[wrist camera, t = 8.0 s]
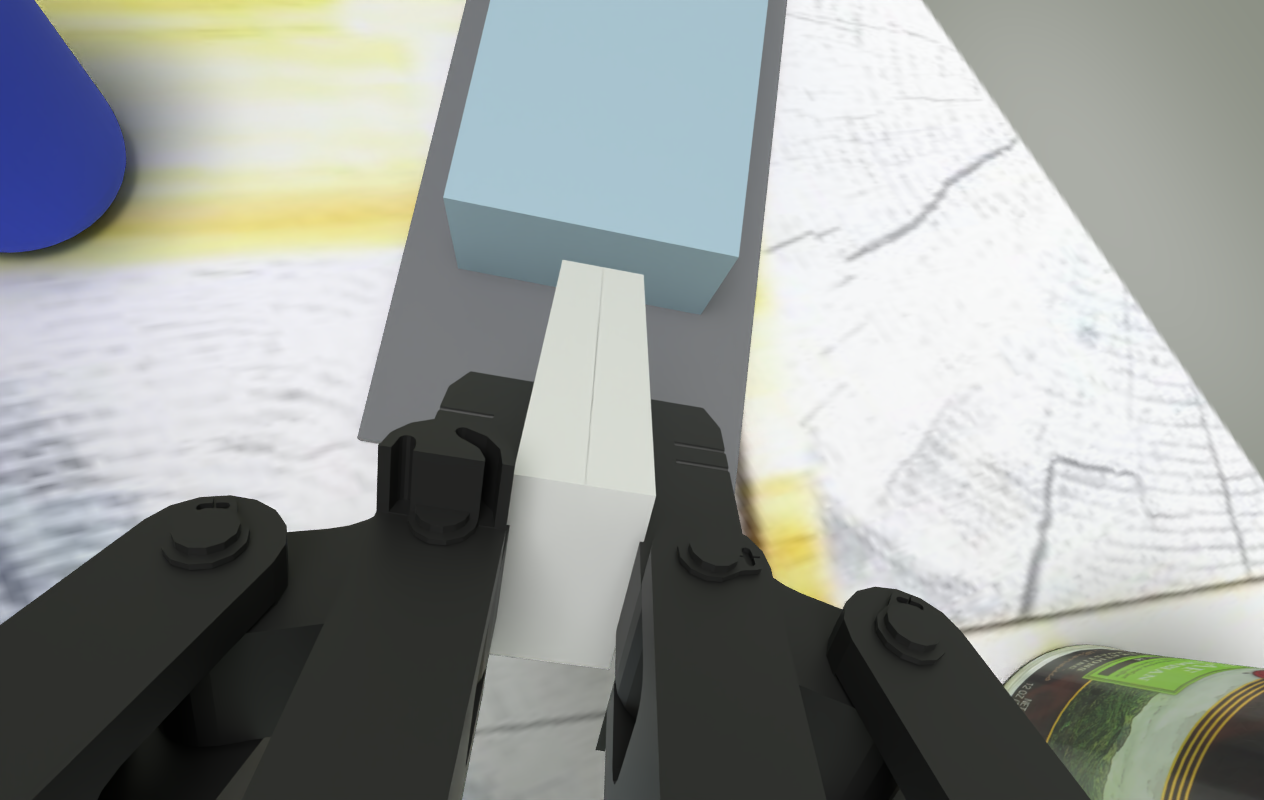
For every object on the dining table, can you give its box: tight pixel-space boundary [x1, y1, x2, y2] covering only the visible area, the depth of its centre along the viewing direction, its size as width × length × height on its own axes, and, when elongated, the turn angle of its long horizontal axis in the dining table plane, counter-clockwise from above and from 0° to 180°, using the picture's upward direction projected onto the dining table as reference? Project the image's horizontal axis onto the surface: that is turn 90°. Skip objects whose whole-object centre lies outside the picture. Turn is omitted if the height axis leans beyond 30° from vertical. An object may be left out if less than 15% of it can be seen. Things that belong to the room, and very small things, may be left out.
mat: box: [357, 0, 787, 494], centre depth 28 cm, size 24×13×1 cm, turn 172°
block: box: [443, 0, 768, 315], centre depth 26 cm, size 5×9×16 cm
